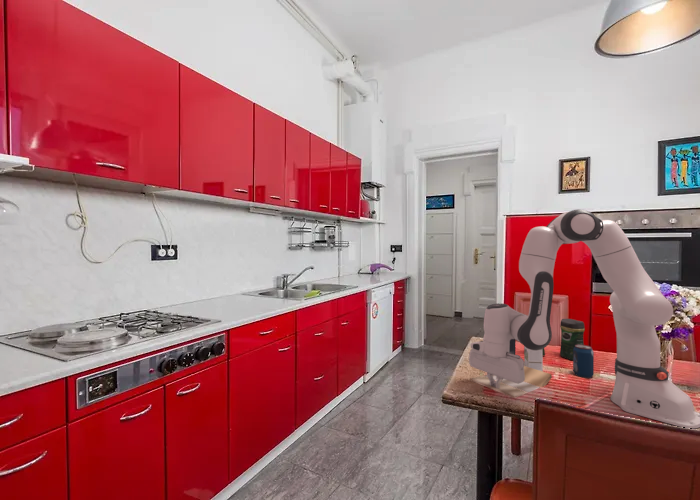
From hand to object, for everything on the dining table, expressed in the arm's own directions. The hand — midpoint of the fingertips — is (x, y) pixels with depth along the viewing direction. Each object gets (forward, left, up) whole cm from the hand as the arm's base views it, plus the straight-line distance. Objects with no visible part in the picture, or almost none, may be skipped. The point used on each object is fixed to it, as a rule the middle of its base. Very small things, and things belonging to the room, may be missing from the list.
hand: (494, 386), depth 121 cm
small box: (+25, -42, -2) cm, 49 cm away
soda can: (-9, -46, -2) cm, 47 cm away
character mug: (+15, -56, -2) cm, 58 cm away
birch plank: (+1, -3, -2) cm, 3 cm away
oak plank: (+1, -20, 0) cm, 20 cm away
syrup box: (+4, -32, -2) cm, 32 cm away
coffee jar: (+4, -66, -2) cm, 66 cm away
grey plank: (+1, -11, -2) cm, 11 cm away
